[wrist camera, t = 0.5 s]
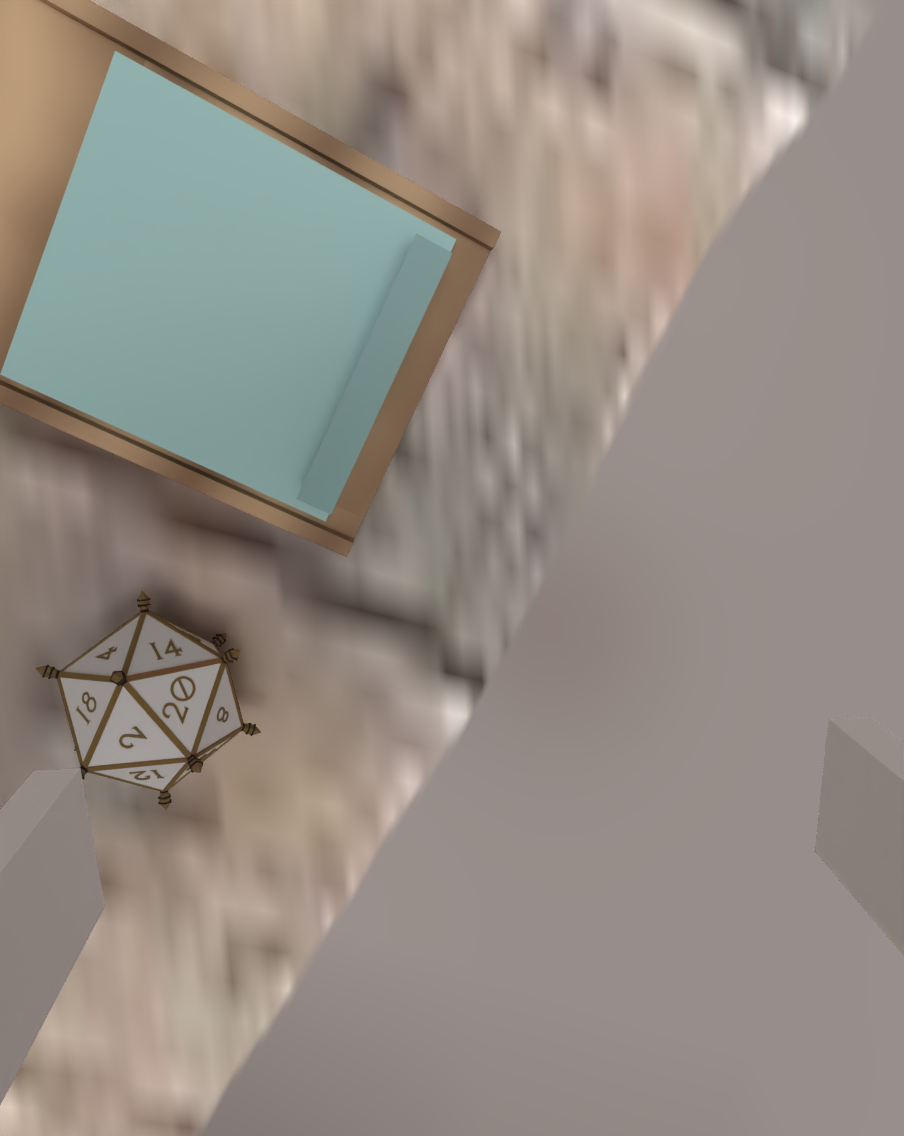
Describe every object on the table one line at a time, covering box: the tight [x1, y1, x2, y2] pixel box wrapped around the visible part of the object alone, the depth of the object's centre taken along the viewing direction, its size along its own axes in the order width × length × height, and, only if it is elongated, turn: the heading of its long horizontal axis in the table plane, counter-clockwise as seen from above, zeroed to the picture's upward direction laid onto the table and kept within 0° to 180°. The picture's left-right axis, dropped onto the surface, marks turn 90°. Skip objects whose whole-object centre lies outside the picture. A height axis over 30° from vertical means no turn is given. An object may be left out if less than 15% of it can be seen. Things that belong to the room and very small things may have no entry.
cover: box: [0, 51, 456, 522], centre depth 30 cm, size 14×13×3 cm
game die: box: [36, 591, 261, 810], centre depth 35 cm, size 9×8×10 cm
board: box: [0, 0, 501, 557], centre depth 31 cm, size 30×15×3 cm, turn 64°
